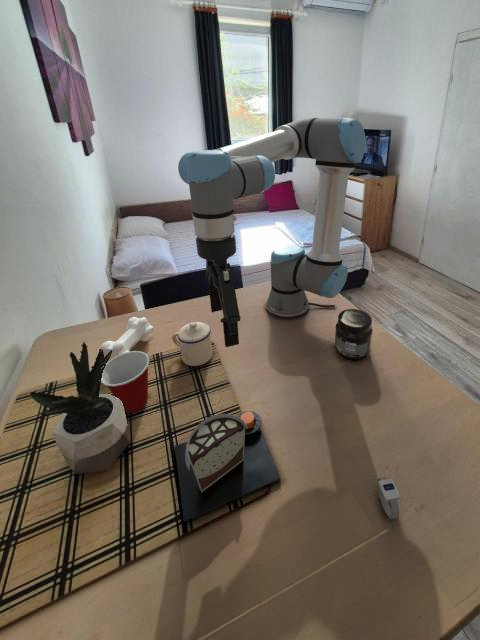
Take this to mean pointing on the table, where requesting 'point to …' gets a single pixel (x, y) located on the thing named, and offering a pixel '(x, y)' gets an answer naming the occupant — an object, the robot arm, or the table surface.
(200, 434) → the slice of cake
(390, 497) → the wristwatch
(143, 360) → the plastic cup
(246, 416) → the tare button
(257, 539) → the table surface
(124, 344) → the bone shaped toy
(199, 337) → the teacup with lid
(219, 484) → the scale
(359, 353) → the supplement container
